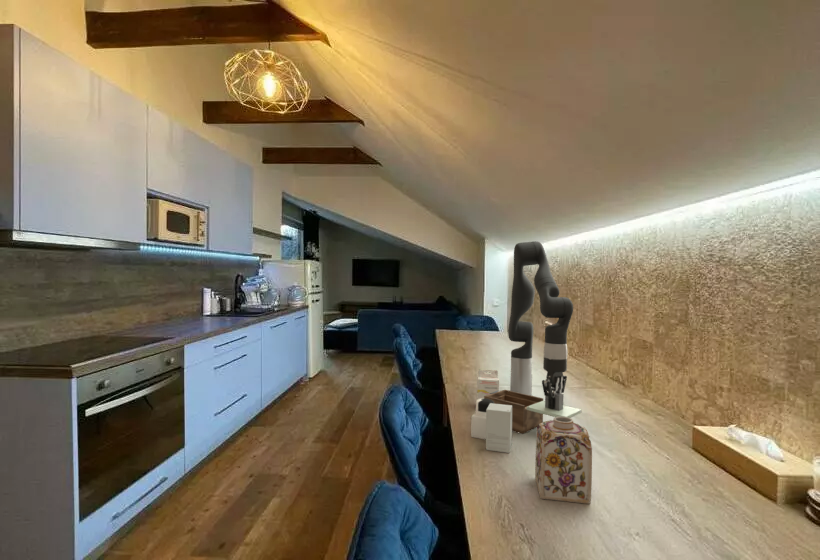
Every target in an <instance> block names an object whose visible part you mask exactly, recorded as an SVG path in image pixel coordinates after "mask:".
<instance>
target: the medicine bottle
mask: <svg viewBox="0 0 820 560" xmlns="http://www.w3.org/2000/svg"><path fill="white" fill-rule="evenodd" d="M490 403H493V404H494V401H492V400H491V399H487V398H481V399H478V400H477V399H476V400H475V412H474V413H473V414H472V415H471V418H470V419H471V422H470V423H471V424H470V425H471V426H470V432H471V433H470V436H471V438H474V439H475V438H476V439H480V440H485V439H486V409H487V408H488V406H489V404H490Z"/></svg>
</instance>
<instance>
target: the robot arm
mask: <svg viewBox="0 0 820 560" xmlns="http://www.w3.org/2000/svg"><path fill="white" fill-rule="evenodd" d="M534 265H535V266H536V265H537V266H538V269H537V271H536V273H535V274H534V278H533V283H532V281H531V280H530V279H529V277H528V276H527V275H526V273H525V271H524V267H526V266H534ZM512 280H513V281H512V287H511V288H512V289H511V298H510V299H511V300H510V302H511V304H510V305H511V307H510V314H509V315H510V317H509V323H508V330H507V334H508V335H507V337H508V339H509V341H511V342H515V343H524V344H523V345H521V346H520V347H518V348H514V349H512V350H511V352H510V382H509V383H510V384H509V391H513V392H518V393H522V394H527V395H531V396H533V393H532V392H533V341H534V323H533V322H532V321H520V319H521V318H522V316H523V315H525V314H526V313H527V312H528V311H529V310H530V308H532V306H533V304H534V301H535V294H536V293H535V291H537V294H538V297H539V309H540V314H541V315H542V316H543V317H545V318H547V319H557V321H556V323H553V324H548V325H546V327H544V346H543V367H542V368H543V370H544V371H546V372H547V373H546V379H545V380H544V379H543V380H541V386H542V389H543V394H544V397H545V396H547V397H548V408H550V409H555V396H556V393H560V394H564V392H565V389H566V384H567V379H568V376H567V375H564V373H565V372H567V370H568V345H567V343H568V342H567V341H568V330H569V325H570V321H571V319H572V316H573V312H574V304H573V302H572V300H571V299H570V297H562V296H560V288H559V286H558V285H557V282H556V280H555V278H554V276H553V274H552V272H551V268H550V265H549V261H548V256H547V254H546V251H545V248H544V246H543V244H542V243H541V241H537V240H536V241H523V242H518V243H516V244H515V246H514V250H513V279H512ZM533 284H534V285H533ZM535 289H536V290H535ZM559 296H560V297H559Z"/></svg>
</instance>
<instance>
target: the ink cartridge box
mask: <svg viewBox="0 0 820 560" xmlns="http://www.w3.org/2000/svg"><path fill="white" fill-rule="evenodd" d="M498 374H499V371H498V370H494V369H478V370H477V382H476V400H478V399H481V398H484V396H486V395H489V394H493V393H496V392H499V391H500V379H499V378H498V376H499V375H498Z"/></svg>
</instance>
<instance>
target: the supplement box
mask: <svg viewBox="0 0 820 560" xmlns="http://www.w3.org/2000/svg"><path fill="white" fill-rule="evenodd" d="M512 445H513V431H512V405H503V404H493V403H490V404H489V406H488V408H487V409H486V440H485V448H486V449H485V450H486V451H491V452H499V453H500V452H501V453H508V454H510V453H511V450H512Z"/></svg>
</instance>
